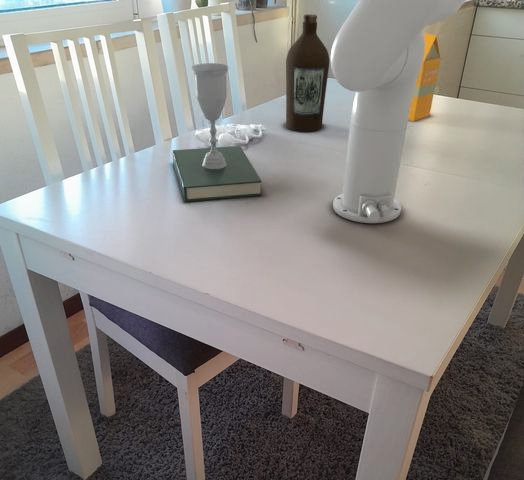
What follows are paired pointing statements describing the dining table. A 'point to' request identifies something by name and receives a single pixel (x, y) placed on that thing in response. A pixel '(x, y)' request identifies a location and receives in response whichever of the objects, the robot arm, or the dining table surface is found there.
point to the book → (215, 175)
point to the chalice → (211, 104)
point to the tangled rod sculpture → (226, 138)
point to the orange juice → (426, 80)
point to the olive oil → (306, 79)
